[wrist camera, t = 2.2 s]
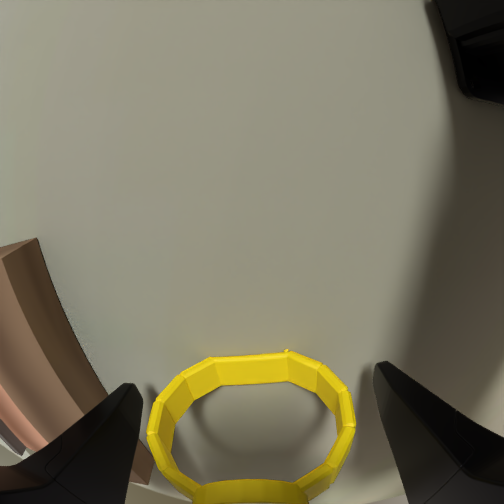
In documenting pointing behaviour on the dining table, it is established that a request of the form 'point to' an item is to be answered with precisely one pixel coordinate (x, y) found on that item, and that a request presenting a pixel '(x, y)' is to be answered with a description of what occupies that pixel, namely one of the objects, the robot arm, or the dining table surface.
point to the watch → (240, 373)
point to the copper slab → (43, 360)
